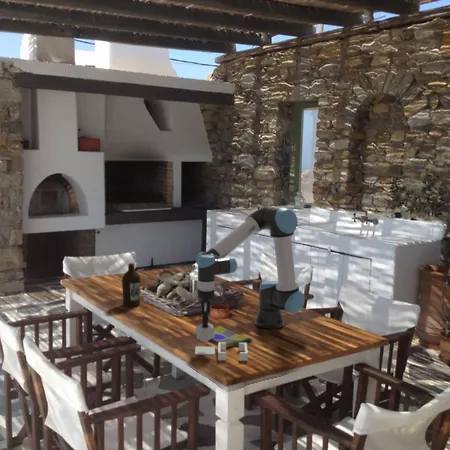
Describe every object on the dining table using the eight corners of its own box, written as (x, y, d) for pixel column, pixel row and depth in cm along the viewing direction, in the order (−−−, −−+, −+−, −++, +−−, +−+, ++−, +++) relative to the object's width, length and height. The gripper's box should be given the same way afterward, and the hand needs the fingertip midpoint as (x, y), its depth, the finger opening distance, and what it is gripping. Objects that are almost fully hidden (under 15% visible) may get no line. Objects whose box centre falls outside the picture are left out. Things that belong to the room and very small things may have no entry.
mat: (215, 348, 264) (215, 346, 264) (214, 355, 255) (214, 353, 255) (195, 347, 264) (195, 346, 264) (194, 354, 255) (194, 353, 255)
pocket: (246, 350, 262) (246, 342, 261) (247, 360, 249) (247, 353, 249) (218, 349, 262) (218, 342, 261) (218, 360, 249) (218, 352, 248)
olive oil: (118, 305, 329) (118, 263, 326) (133, 302, 337) (133, 261, 333) (129, 309, 322) (128, 266, 318) (144, 306, 329) (144, 264, 326)
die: (216, 340, 260) (217, 319, 258) (210, 346, 251) (211, 325, 250) (199, 338, 262) (199, 317, 260) (192, 344, 253) (193, 322, 252)
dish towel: (221, 329, 292) (222, 324, 292) (253, 342, 273) (254, 337, 273) (194, 336, 281) (194, 331, 280) (226, 350, 262) (226, 344, 262)
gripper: (198, 284, 264) (197, 332, 267) (196, 294, 247) (196, 345, 250) (214, 284, 264) (213, 333, 267) (214, 294, 247) (213, 346, 250)
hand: (205, 339), depth 258 cm, fingers closed on die, 4 cm apart
